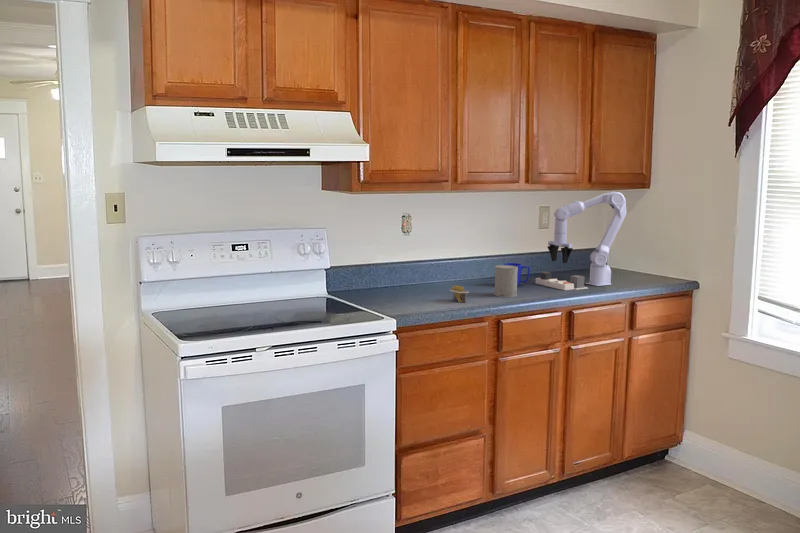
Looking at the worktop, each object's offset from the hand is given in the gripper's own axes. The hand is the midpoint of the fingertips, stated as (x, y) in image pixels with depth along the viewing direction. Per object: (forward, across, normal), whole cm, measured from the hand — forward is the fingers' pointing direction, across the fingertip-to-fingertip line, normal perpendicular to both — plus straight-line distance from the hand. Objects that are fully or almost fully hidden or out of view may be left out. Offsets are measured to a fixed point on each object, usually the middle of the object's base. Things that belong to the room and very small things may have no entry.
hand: (559, 261), depth 320 cm
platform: (+11, +15, -67) cm, 70 cm away
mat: (+10, +13, 0) cm, 17 cm away
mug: (+11, -4, -22) cm, 25 cm away
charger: (+10, +13, -1) cm, 16 cm away
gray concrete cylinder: (+11, +13, -41) cm, 44 cm away
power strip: (+10, +5, -7) cm, 13 cm away
